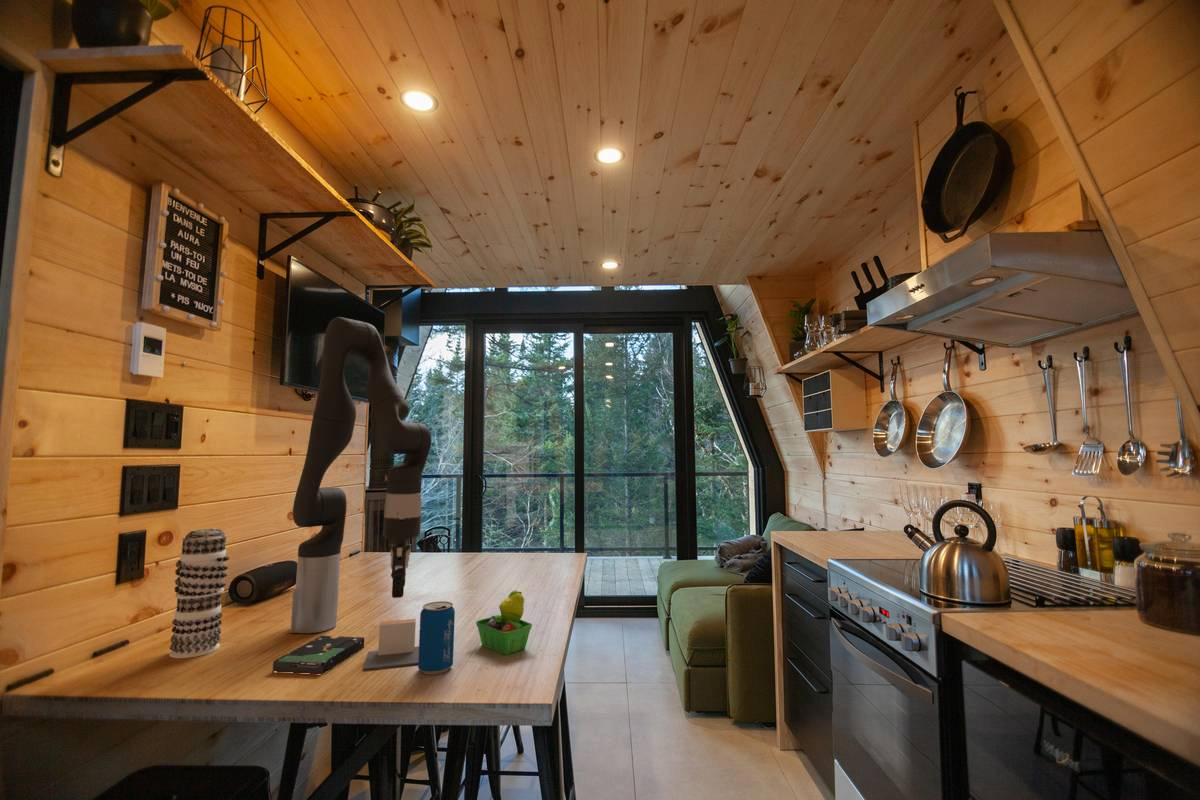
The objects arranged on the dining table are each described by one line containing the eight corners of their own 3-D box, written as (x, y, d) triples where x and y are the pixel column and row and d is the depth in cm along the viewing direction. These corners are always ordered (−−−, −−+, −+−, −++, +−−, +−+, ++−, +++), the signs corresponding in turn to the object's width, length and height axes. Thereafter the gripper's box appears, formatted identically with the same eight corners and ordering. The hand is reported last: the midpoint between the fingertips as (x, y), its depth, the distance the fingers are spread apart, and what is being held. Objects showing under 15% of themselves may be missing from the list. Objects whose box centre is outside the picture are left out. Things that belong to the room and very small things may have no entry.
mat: (363, 670, 100) (363, 668, 100) (368, 653, 109) (368, 651, 109) (423, 663, 103) (423, 661, 103) (423, 647, 112) (423, 646, 112)
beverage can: (433, 679, 96) (436, 611, 98) (410, 671, 100) (413, 606, 101) (460, 667, 102) (462, 603, 103) (437, 660, 105) (439, 599, 107)
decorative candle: (206, 640, 116) (216, 526, 119) (231, 647, 112) (240, 528, 115) (157, 654, 108) (169, 531, 111) (182, 662, 104) (193, 534, 107)
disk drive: (319, 648, 113) (270, 675, 99) (320, 635, 114) (272, 660, 99) (364, 650, 112) (322, 677, 98) (365, 636, 113) (323, 662, 98)
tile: (378, 655, 107) (379, 624, 107) (379, 651, 109) (380, 621, 109) (414, 651, 109) (415, 621, 110) (414, 648, 111) (415, 618, 112)
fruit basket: (473, 645, 114) (474, 592, 115) (506, 635, 120) (507, 585, 122) (504, 659, 106) (506, 601, 107) (538, 647, 113) (538, 593, 114)
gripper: (386, 511, 118) (382, 584, 116) (381, 518, 104) (376, 602, 103) (421, 510, 120) (417, 582, 118) (420, 518, 107) (416, 599, 105)
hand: (398, 591), depth 110 cm, fingers open, 8 cm apart
